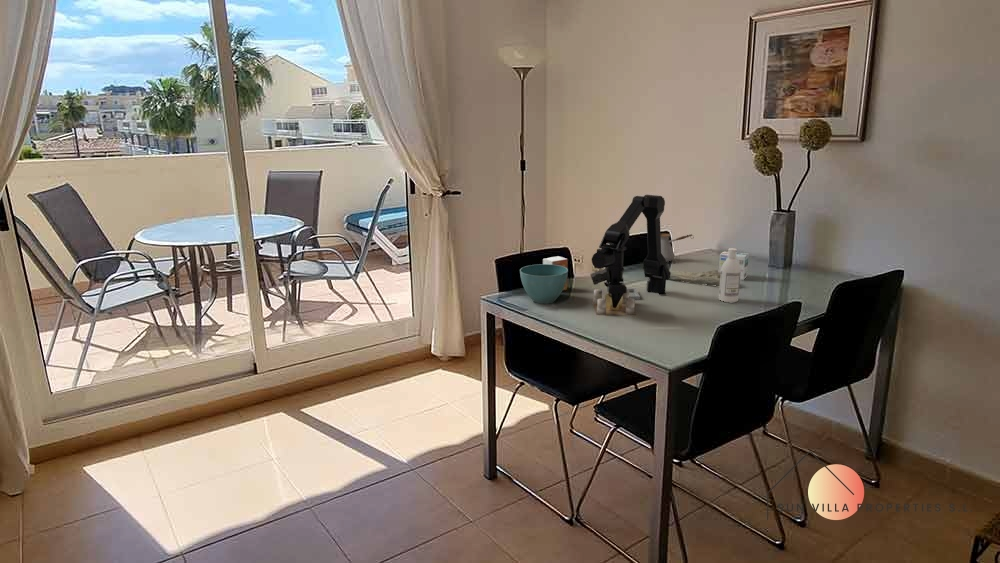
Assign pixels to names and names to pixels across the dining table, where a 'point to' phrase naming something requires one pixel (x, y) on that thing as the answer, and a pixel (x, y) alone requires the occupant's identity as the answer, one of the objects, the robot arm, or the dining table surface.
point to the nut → (609, 303)
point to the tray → (633, 290)
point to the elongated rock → (697, 277)
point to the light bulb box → (742, 261)
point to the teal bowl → (543, 281)
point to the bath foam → (730, 278)
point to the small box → (557, 263)
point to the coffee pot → (669, 246)
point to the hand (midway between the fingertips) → (613, 305)
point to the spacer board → (601, 309)
